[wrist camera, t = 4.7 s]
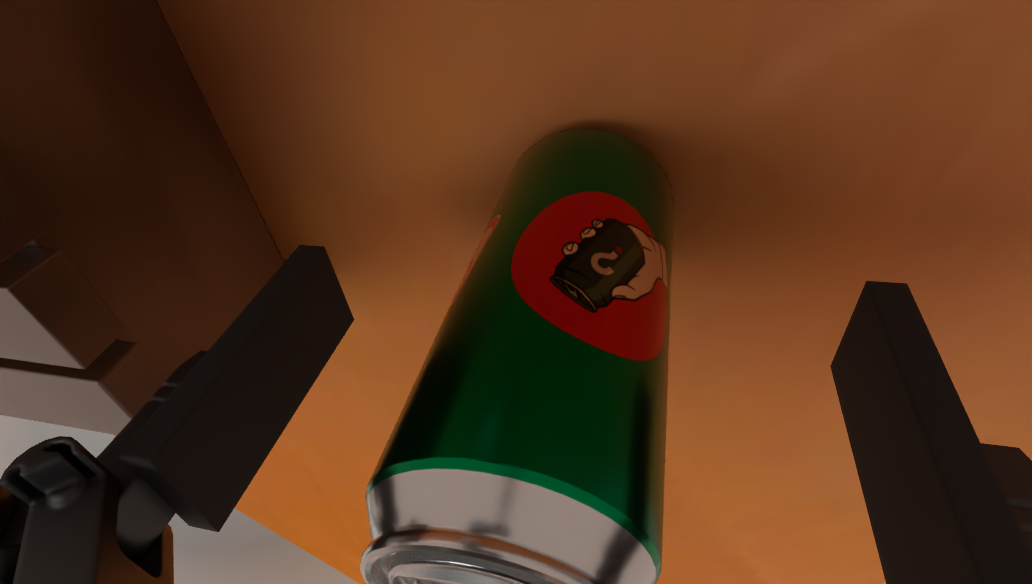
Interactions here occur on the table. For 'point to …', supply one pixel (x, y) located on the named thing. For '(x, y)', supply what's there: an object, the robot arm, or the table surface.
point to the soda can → (542, 388)
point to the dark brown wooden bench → (111, 213)
